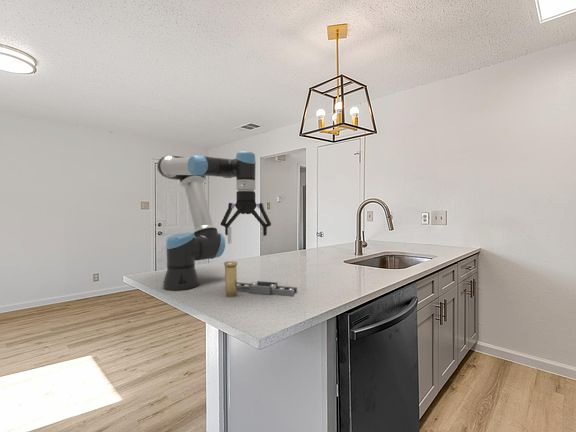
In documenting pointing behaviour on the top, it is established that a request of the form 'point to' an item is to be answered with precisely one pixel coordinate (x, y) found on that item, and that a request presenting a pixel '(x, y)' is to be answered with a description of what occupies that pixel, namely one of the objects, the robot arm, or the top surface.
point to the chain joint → (266, 288)
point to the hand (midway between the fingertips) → (246, 243)
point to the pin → (230, 278)
